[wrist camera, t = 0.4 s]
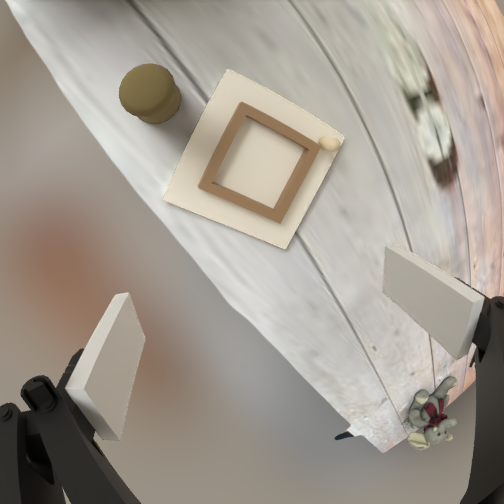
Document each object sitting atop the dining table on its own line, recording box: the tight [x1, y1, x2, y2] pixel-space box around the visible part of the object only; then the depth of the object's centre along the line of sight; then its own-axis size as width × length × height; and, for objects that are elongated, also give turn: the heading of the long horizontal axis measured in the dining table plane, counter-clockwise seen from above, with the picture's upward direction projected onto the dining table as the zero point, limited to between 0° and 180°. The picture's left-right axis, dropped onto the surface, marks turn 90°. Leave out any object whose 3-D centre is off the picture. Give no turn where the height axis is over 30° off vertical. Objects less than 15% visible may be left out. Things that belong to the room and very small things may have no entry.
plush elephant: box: [402, 377, 457, 450], centre depth 74 cm, size 27×22×21 cm
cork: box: [119, 64, 181, 124], centre depth 25 cm, size 6×6×11 cm
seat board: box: [163, 69, 345, 249], centre depth 34 cm, size 18×18×4 cm
